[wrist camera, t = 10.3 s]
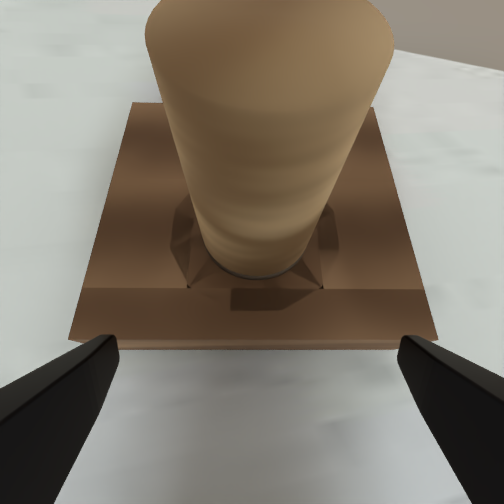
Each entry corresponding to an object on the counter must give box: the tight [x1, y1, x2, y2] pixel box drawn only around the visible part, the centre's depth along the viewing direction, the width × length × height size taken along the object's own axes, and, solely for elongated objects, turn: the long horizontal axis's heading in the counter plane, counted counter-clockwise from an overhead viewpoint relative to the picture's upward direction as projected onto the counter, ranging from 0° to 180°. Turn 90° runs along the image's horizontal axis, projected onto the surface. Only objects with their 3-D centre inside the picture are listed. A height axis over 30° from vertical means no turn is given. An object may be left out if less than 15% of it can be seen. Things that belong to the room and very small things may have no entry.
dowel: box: [145, 0, 394, 280], centre depth 12 cm, size 5×5×13 cm
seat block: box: [68, 102, 438, 350], centre depth 17 cm, size 15×16×4 cm
